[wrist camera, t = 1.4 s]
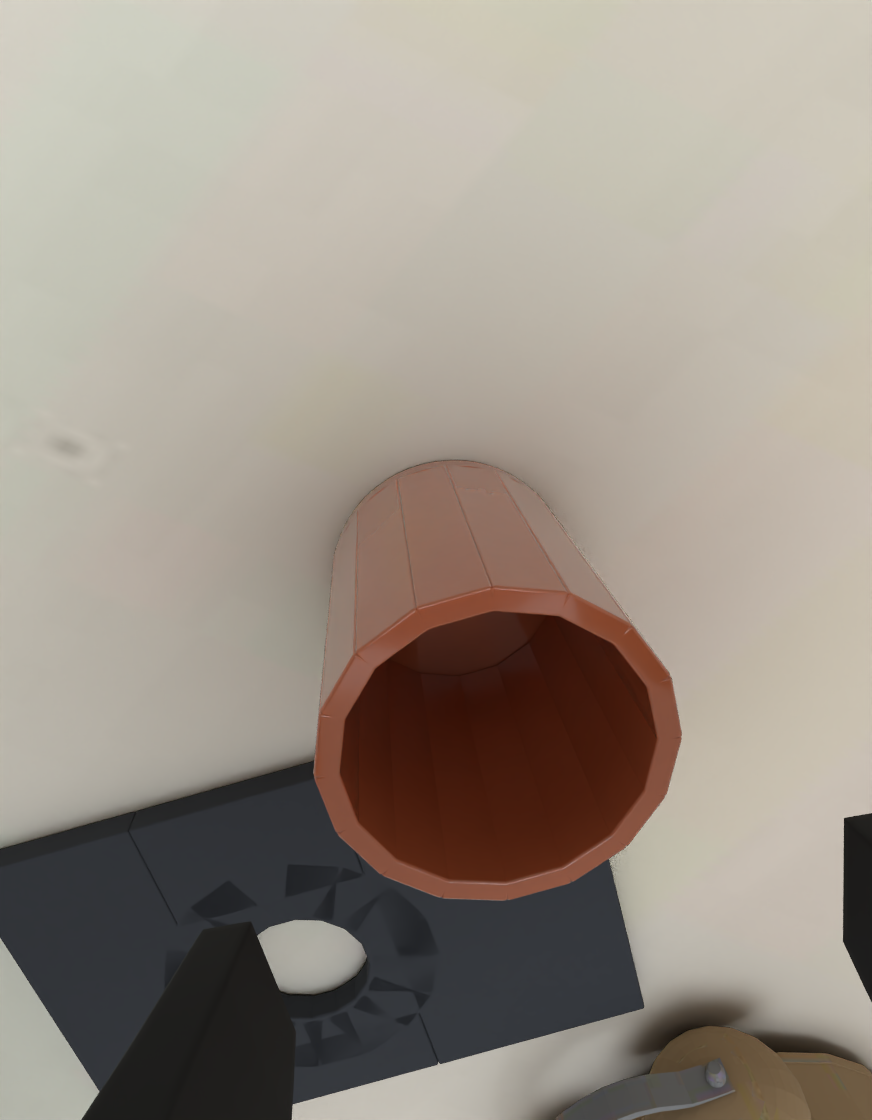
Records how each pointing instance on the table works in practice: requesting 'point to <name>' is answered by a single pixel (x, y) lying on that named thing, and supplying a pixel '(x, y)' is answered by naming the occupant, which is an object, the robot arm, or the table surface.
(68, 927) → the drain mat
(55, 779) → the table surface
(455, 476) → the cup
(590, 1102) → the alarm clock
